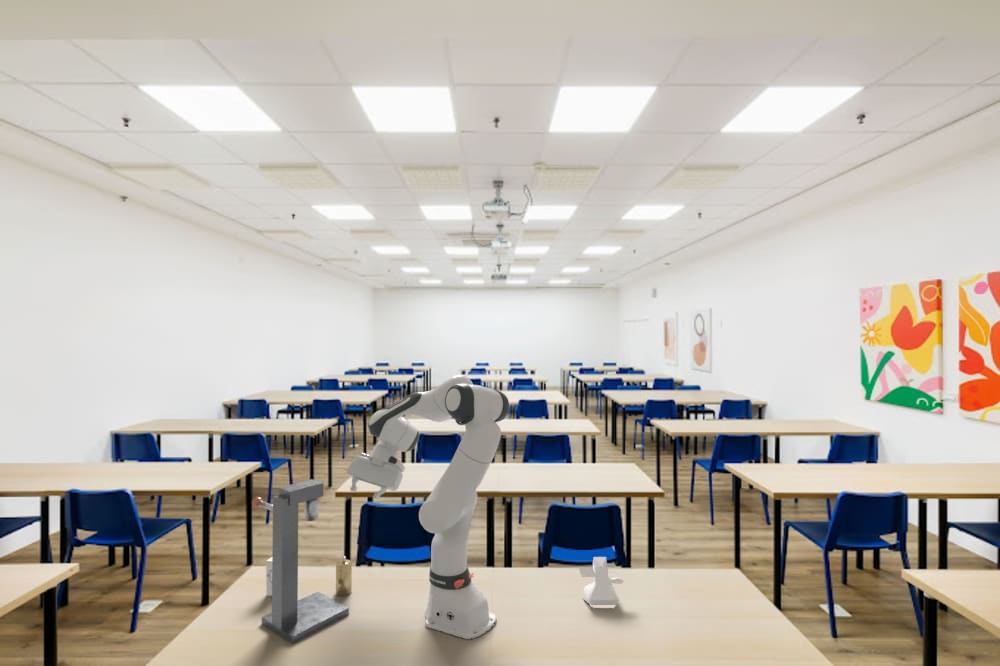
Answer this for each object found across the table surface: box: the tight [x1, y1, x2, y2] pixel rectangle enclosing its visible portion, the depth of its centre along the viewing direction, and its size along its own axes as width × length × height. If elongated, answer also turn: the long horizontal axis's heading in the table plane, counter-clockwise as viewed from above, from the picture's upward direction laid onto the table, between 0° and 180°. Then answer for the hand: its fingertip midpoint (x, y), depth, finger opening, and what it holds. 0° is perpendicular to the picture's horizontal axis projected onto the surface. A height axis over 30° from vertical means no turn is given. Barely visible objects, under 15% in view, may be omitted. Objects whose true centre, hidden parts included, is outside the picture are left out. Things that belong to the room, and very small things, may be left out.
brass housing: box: [335, 555, 353, 598], centre depth 172 cm, size 5×5×12 cm
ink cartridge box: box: [265, 556, 272, 597], centre depth 173 cm, size 9×5×15 cm, turn 168°
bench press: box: [251, 478, 350, 645], centre depth 159 cm, size 25×19×41 cm
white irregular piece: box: [578, 556, 625, 606], centre depth 168 cm, size 8×14×14 cm, turn 91°
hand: (363, 494), depth 179 cm, fingers open, 8 cm apart
